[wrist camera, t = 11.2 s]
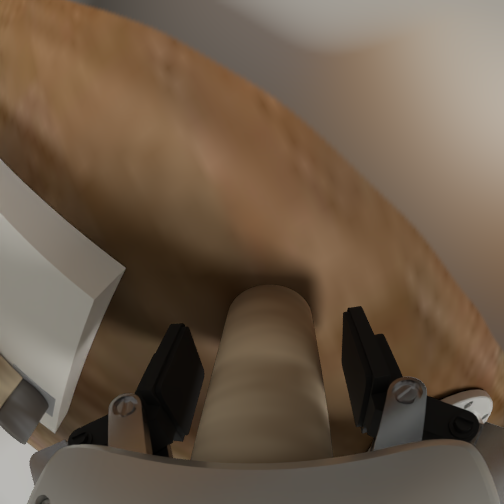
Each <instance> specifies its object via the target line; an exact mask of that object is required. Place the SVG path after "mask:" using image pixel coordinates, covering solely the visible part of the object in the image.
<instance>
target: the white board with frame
mask: <svg viewBox="0 0 504 504" xmlns="http://www.w3.org/2000/svg"><path fill="white" fill-rule="evenodd" d="M125 269H126V268H125V267H124V266H123V265H121V264H120V263H119V262H117V261H116V260H115V259H113V258H112V257H111V256H110V255H108V254H107V253H106V252H104V251H103V250H102V249H101V248H99V247H98V246H97V245H95V244H94V243H93V242H92V241H90V240H89V239H88V238H87V237H85V236H84V235H83V234H82V233H81V232H79V231H78V230H77V229H76V228H75V227H73V226H72V225H71V224H70V223H69V222H67V221H66V220H65V219H64V218H63V217H62V216H60V215H59V214H58V213H57V212H56V211H55V210H54V209H52V208H51V207H50V206H49V205H48V204H47V203H46V202H45V201H43V200H42V199H41V198H40V197H39V196H38V195H37V194H36V193H35V192H34V191H33V190H31V189H30V188H29V187H28V186H27V185H26V184H25V183H24V182H23V181H22V180H21V179H20V178H19V177H18V176H17V175H16V174H15V173H14V172H13V171H12V170H11V169H10V168H9V167H8V166H7V165H6V164H5V163H4V162H3V161H2V160H1V159H0V355H1V356H2V357H3V358H4V359H5V360H6V361H7V362H8V363H9V364H10V365H11V366H12V367H13V368H14V369H15V370H16V371H17V372H18V373H19V374H20V375H21V376H22V377H23V379H24V380H26V381H27V382H28V383H30V384H31V385H32V386H33V387H34V388H36V389H37V390H38V391H39V392H40V394H41V395H42V396H43V397H44V398H45V400H46V401H47V403H48V406H49V407H48V409H47V411H46V412H45V414H44V415H43V417H42V418H41V420H40V421H39V422H40V423H42V424H43V425H44V426H45V427H47V428H48V429H49V430H51V431H52V432H54V433H56V431H57V429H58V427H59V426H60V424H61V422H62V421H63V419H64V417H65V416H66V414H67V412H68V409H69V406H70V403H71V400H72V397H73V394H74V391H75V388H76V385H77V382H78V379H79V376H80V374H81V371H82V368H83V365H84V363H85V360H86V357H87V355H88V352H89V350H90V347H91V345H92V342H93V340H94V337H95V335H96V332H97V330H98V328H99V325H100V323H101V321H102V318H103V316H104V314H105V312H106V309H107V307H108V305H109V303H110V300H111V298H112V296H113V294H114V292H115V290H116V288H117V286H118V283H119V281H120V279H121V277H122V275H123V273H124V271H125Z"/></svg>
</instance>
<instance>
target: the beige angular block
mask: <svg viewBox="0 0 504 504" xmlns="http://www.w3.org/2000/svg"><path fill="white" fill-rule="evenodd" d="M48 407H49V406H48V403H47V401H46V400H45V398H44V397H43V396H42V395H41V394H40V392H39V391H38V390H37V389H36V388H34V387H33V386H32V385H31V384H30V383H28V382H27V381H26V380H24V379H23V377H22V376H21V375H20V374H19V373H18V372H17V371H16V370H15V369H14V368H13V367H12V366H11V365H10V364H9V363H8V362H7V361H6V360H5V359H4V358H3V357H2V356H1V355H0V426H2V428H3V429H5V431H6V432H8V433H9V434H10V435H11V436H12V437H13V438H15V439H16V440H17V441H19V442H20V443H22V444H26V442H27V441H28V439H29V437H30V436H31V434H32V432H33V431H34V429H35V428H36V426H37V425H38V423H39V421H40V420H41V418H42V417H43V415H44V414H45V412H46V411H47V409H48Z"/></svg>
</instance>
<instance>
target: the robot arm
mask: <svg viewBox="0 0 504 504" xmlns="http://www.w3.org/2000/svg"><path fill="white" fill-rule="evenodd" d="M342 367H343V371H344V375H345V380H346V384H347V388H348V393H349V397H350V401H351V406H352V411H353V415H354V420H355V425H356V427H360V426H361V431H362V433H366V432H367V434H368V435H369V436H371V437H373V441H372V445H371V447H370V449H369V450H368V452H365V453H359V454H354V455H348V456H341V457H335V458H327V459H319V460H310V461H299V462H284V463H219V462H205V461H193V460H184V459H176V458H173V455H172V450H171V445H170V444H171V443H173V440H174V441H183V440H184V436H185V435H188V434H189V430H190V427H191V423H192V419H193V416H194V412H195V408H196V405H197V401H198V397H199V394H200V390H201V386H202V383H203V379H204V369H203V366H202V363H201V361H200V358H199V355H198V352H197V349H196V347H195V344H194V341H193V338H192V335H191V332H190V329H189V327H185V325H184V324H171V325H170V326H169V328H168V330H167V332H166V334H165V336H164V338H163V340H162V342H161V344H160V346H159V347H158V349H157V351H156V353H155V354H154V355H153V357H152V359H151V361H150V363H149V365H148V367H147V369H146V371H145V373H144V375H143V377H142V379H141V381H140V383H139V385H138V387H137V390H136V392H135V394H132V393H124V394H121V395H119V396H117V397H116V398H115V399H113V400H112V402H111V403H110V405H109V413H108V415H106V416H104V417H102V418H100V419H98V420H96V421H93V422H91V423H89V424H87V425H85V426H83V427H81V428H78V429H77V430H75V431H74V432H73V433H72V434H71V435H70V437H69V439H68V442H67V441H66V440H63V441H61V442H59V443H56V444H54V445H52V446H50V447H47V448H45V449H43V450H40V451H38V452H36V453H35V454H33V455H32V457H31V459H30V469H31V473H32V477H33V481H34V485H35V487H34V489H33V491H32V493H31V496H30V498H29V500H28V503H27V504H504V428H502V427H499V426H497V425H494V424H491V423H488V422H486V421H487V419H488V417H489V416H490V413H491V411H492V408H493V402H492V400H491V398H490V396H489V394H488V393H487V392H486V391H484V390H480V389H478V390H468V391H464V392H460V393H457V394H454V395H451V396H449V397H446V398H444V399H442V400H437V399H435V398H432V397H429V396H427V390H426V387H425V385H424V383H422V382H421V381H420V380H418V379H416V378H413V377H403V376H402V374H401V372H400V369H399V367H398V365H397V363H396V360H395V358H394V356H393V354H392V352H391V349H390V347H389V345H388V343H387V341H386V339H385V337H384V335H383V334H377V335H374V333H373V331H372V329H371V326H370V324H369V322H368V320H367V317H366V315H365V313H364V311H363V309H362V307H361V306H359V307H352V308H348V310H347V312H344V313H343V339H342Z"/></svg>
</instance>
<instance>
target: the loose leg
mask: <svg viewBox="0 0 504 504" xmlns="http://www.w3.org/2000/svg"><path fill="white" fill-rule="evenodd" d="M327 458H333V451H332V442H331V434H330V426H329V419H328V411H327V404H326V397H325V390H324V384H323V377H322V371H321V365H320V359H319V352H318V347H317V341H316V335H315V329H314V324H313V318H312V313H311V310H310V307H309V305H308V303H307V302H306V300H305V299H304V298H303V297H302V296H301V295H299V294H298V293H297V292H295V291H294V290H292V289H289V288H287V287H284V286H279V285H260V286H255V287H252V288H250V289H247V290H246V291H244V292H242V293H241V294H240V295H238V296H237V297H236V298H235V299H234V301H233V302H232V304H231V306H230V308H229V311H228V314H227V318H226V322H225V326H224V329H223V333H222V337H221V341H220V345H219V349H218V353H217V357H216V360H215V364H214V368H213V372H212V376H211V380H210V384H209V388H208V392H207V396H206V400H205V404H204V408H203V412H202V416H201V420H200V424H199V428H198V432H197V436H196V440H195V444H194V448H193V452H192V456H191V460H193V461H205V462H219V463H284V462H299V461H310V460H319V459H327Z"/></svg>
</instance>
